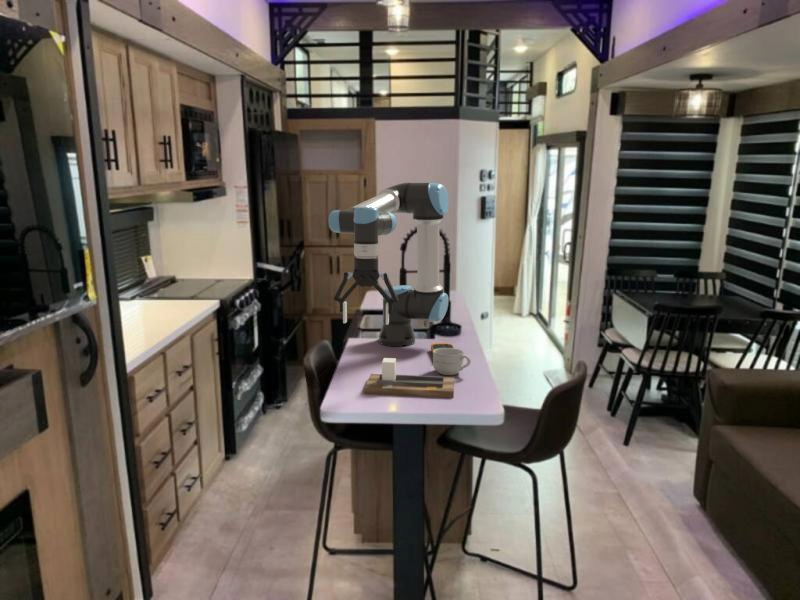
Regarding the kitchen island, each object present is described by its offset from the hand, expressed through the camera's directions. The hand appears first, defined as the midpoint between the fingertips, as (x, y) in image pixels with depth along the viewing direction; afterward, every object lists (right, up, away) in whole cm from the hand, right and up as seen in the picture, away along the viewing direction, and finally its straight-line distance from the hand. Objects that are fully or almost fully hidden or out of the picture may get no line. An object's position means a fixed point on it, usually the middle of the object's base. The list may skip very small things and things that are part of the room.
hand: (366, 323), depth 187 cm
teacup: (+29, -19, +17) cm, 38 cm away
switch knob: (+7, -19, +3) cm, 20 cm away
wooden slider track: (+14, -21, +3) cm, 26 cm away
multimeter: (+28, -15, +36) cm, 48 cm away
